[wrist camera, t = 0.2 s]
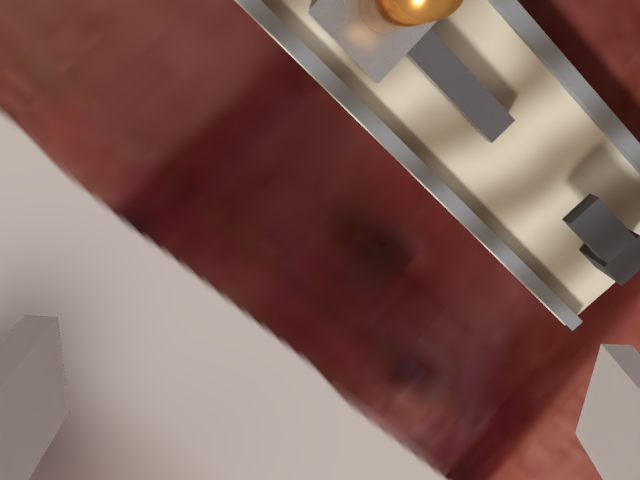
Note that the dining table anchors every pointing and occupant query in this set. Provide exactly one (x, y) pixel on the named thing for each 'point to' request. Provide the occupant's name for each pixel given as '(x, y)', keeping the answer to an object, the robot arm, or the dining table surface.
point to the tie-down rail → (499, 146)
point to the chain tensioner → (410, 51)
